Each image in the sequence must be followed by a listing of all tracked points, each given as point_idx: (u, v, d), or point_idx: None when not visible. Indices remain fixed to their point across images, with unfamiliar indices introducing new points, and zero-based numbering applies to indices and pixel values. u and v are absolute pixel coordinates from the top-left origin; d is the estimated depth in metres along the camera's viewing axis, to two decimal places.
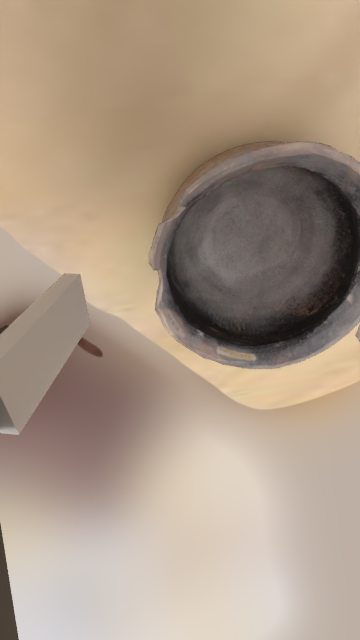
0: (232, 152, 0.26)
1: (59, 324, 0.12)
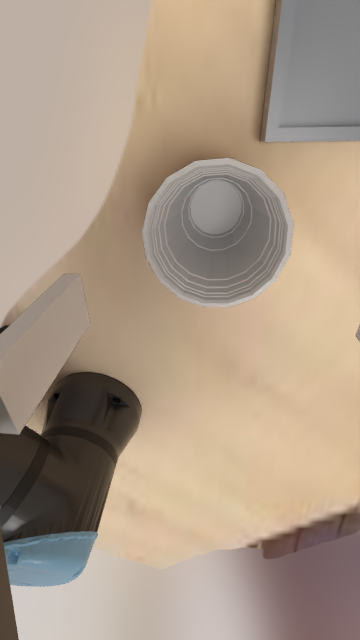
0: None
1: (59, 324, 0.12)
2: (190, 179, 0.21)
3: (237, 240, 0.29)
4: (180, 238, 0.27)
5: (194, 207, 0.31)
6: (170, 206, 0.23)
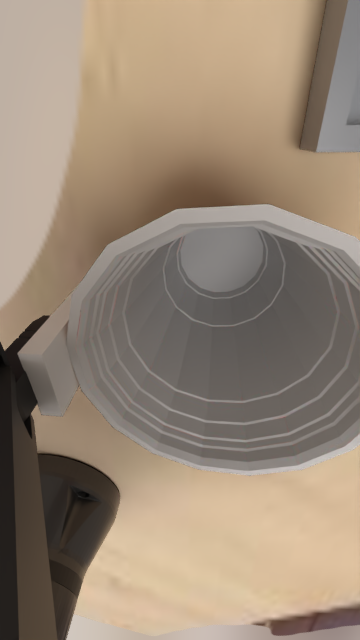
0: None
1: None
2: (169, 239, 0.09)
3: (257, 313, 0.17)
4: (160, 316, 0.16)
5: (186, 252, 0.19)
6: (133, 281, 0.12)
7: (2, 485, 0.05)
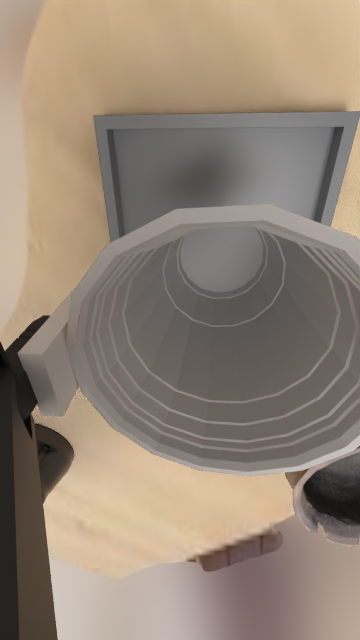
0: (286, 474, 0.39)
1: None
2: (169, 239, 0.09)
3: (257, 313, 0.17)
4: (160, 316, 0.16)
5: (186, 253, 0.19)
6: (133, 281, 0.12)
7: (3, 485, 0.05)
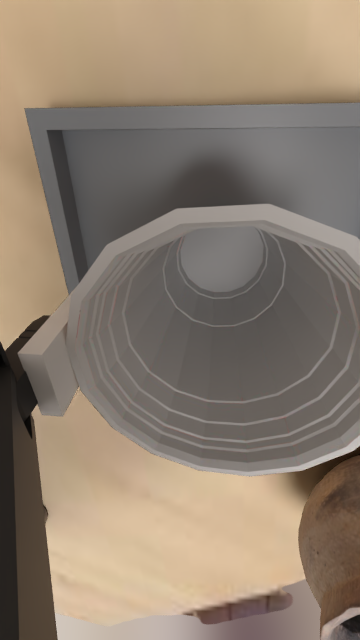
0: (307, 580, 0.30)
1: None
2: (169, 239, 0.09)
3: (258, 313, 0.17)
4: (160, 316, 0.16)
5: (186, 252, 0.19)
6: (133, 281, 0.12)
7: (2, 485, 0.05)
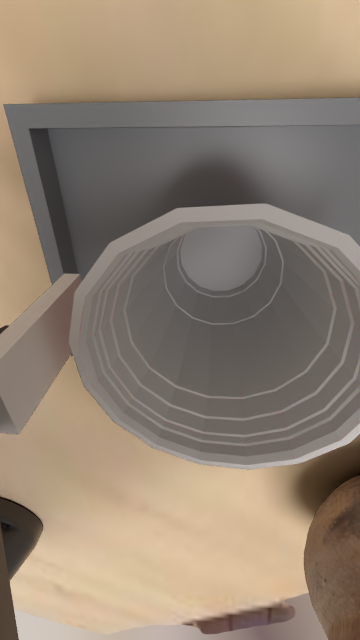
0: (313, 606, 0.28)
1: (59, 324, 0.12)
2: (169, 238, 0.09)
3: (256, 311, 0.18)
4: (161, 314, 0.16)
5: (186, 252, 0.19)
6: (134, 279, 0.12)
7: None
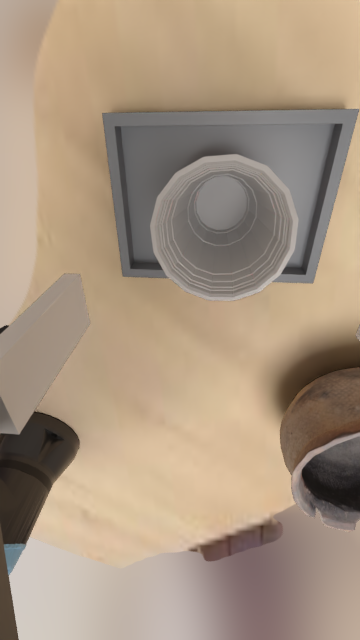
0: (285, 462, 0.40)
1: (59, 324, 0.12)
2: (197, 175, 0.21)
3: (242, 236, 0.30)
4: (186, 233, 0.28)
5: (200, 203, 0.31)
6: (177, 201, 0.24)
7: None
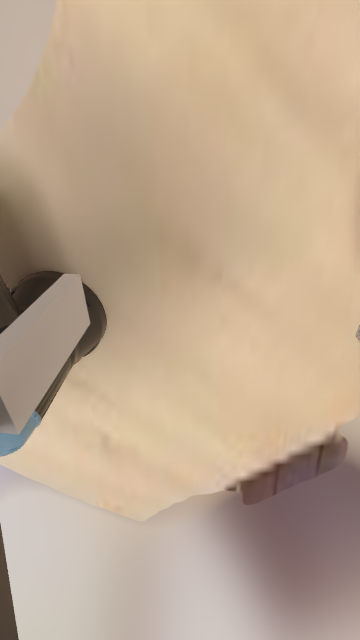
0: None
1: (59, 324, 0.12)
2: None
3: None
4: None
5: None
6: None
7: None
